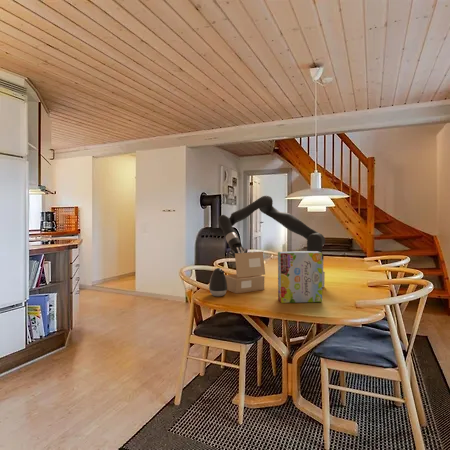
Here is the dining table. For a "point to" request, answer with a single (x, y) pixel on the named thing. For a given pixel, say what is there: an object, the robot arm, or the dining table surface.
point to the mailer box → (244, 283)
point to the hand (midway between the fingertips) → (244, 262)
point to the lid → (249, 264)
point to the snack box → (300, 276)
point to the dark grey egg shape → (218, 283)
